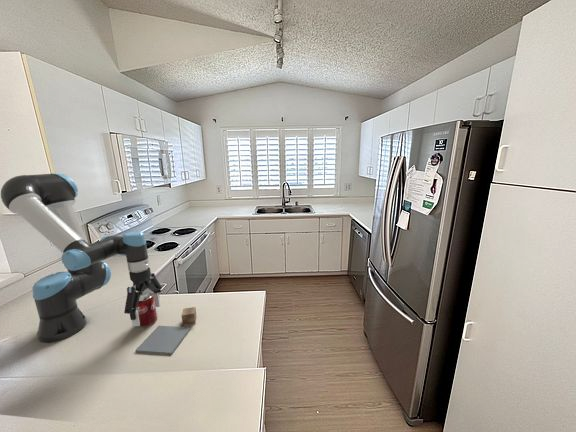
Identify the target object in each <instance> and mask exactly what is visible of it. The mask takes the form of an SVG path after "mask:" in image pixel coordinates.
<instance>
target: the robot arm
mask: <svg viewBox="0 0 576 432" xmlns="http://www.w3.org/2000/svg"><path fill="white" fill-rule="evenodd" d="M78 189H79V188H78V185H77V184H76V182H75V181H74V180H73V178H71V177H70V176H68V175H66V174H65V173H43V174H28V175H27V174H21V175H16V176H14V177H12V178H9V179H8V180H7V181H5V183H4V184H3V185H2V187H1V189H0V199H1V202H2V203H3V205H4V206H5V208H7V209H8V210H9V211H10V212H11V213H12V214H16V215H19V216H21V217H22V219H24V220H25V221H26V222H27V223H28V224H30V225H31V227H32V228H34V229H35V230H36V231H37V232H38V233H40V235H42V236H43V237H44V238H45V239H46V240H47V241H49V242H50V243H51V244H52V245H53V246H54V247H55V248H56V249H58V251H60V252H61V253H62V255H61V258H60V259H61V263H62V264H63V266H64V268H65V269H66V270H67V271H58V272H55V273H50V274H48V275H46V276H44V277H42V278H40V279H39V280H37V281H36V282H35V283H34V284H33V285H32V290H31V291H32V298H33V300H34V303H35V306H36V310H37V314H38V318H39V322H38V323H39V324H38V330H37V334H36V336H37V340H38V341H39V342H41V343H52V342H53V343H54V342H57V341H60V340H63V339H64V340H65V339H67V338H69V337H71V336H74V335H76V334H78V333H79V331H81V330H82V329H84V328H85V327H86V325H87V318H86V316H85V314H84V313H83V312H82V311H81V310H80V308H79V307H78V303H77V302H78V301H77V300H78V299H80V298H83V297H85V296H86V295H89V294H91V293H92V292H94V291H97V290H99V289H102V287H105V286H106V285H108V283H109V282H110V280H111V277H112V272H111V268H110V266H109V264H108V263H107V262H106V261H105V260H107V259H110V258H114V257H115V256H125V257H126V263H127V268H128V271H129V272H128V273H129V278H130V281H131V282H132V285H131V286H127V288H126V291H127V292H126V300H125V305H124V306H125V307H124V312H123V313H124V314H125V315H126V314H127V315H129V318H130V320H131V323H132V326H133V327H141V326H140V321H139V315H138V310H136V308H137V305H138V302H139V299H140V295H141V294H143V292H144V291H145V290H147V289H148V290H149V291H151V292H152V294H153V295H154V300H155V307H156V308H160V307H161V301H160V293H161V292H162V290H161V289H162V285H161V284H160V282H159V281H158V279H157V277H156V275H155V273H153V272H152V271H151V268H150V267H151V266H150V262H149V261H150V260H149V254H148V253H149V252H148V247H147V240H146V236H145V233H144V232H143V231H140V230H137V231H129V232H126V233H123V235H122V236H120V235H106V236H104V237H102V238H100V239H99V240H98V241H95V242H93V243H89V242H88V240H87V237H86V234H85V232H84V230H83V228H82V225H81V223H80V220H79V218H78V215H77V213H76V210H75V208H74V204H75V203H76V198H77V196H78V191H79V190H78Z"/></svg>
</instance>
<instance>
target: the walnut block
mask: <svg viewBox="0 0 576 432" xmlns="http://www.w3.org/2000/svg"><path fill="white" fill-rule="evenodd" d="M196 308H197V307H196V306H194V307H193V306H192V307H186V308H183V309H182V312H181V322H182V327H186V326H189V325H190V326H191V325H196V322H197V309H196Z"/></svg>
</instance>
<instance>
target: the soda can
mask: <svg viewBox="0 0 576 432" xmlns="http://www.w3.org/2000/svg"><path fill="white" fill-rule="evenodd" d="M152 293H153V292H152ZM152 293H151V292H144V293H142V294H141V295H140V299H139V302H138V305H137V308H136V310H138V315H139V321H140V326H139V327H142V328H143V327H149V326H151V325H153V324H155V323H156V322H157V319H158V315H157V314H158V313H157V309H156V308H157V307H155V300H154V295H153V294H152Z"/></svg>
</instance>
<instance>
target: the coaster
mask: <svg viewBox="0 0 576 432" xmlns="http://www.w3.org/2000/svg"><path fill="white" fill-rule="evenodd" d="M191 328H192V327H189V326H188V327H187V326H173V325H158V326H157V327H156V328H155V329H154V330H153V331H152V332H151V333H150V334H149V335H148V336H147V337H146V338H145V339H144V340H143V341H142V342H141V344H139V346H138V347H136V349H135V350H134V351H135V353H143V354H144V353H145V354H155V355H156V354H159V355H168V356H169V355H173V354H174V352H175V351H176V350H177V348H178V347H179V346H180V344H181V343H182V342H183V340H184V339H185V338H186V336H187V335H188V334H189V332H190V331H191Z"/></svg>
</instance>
